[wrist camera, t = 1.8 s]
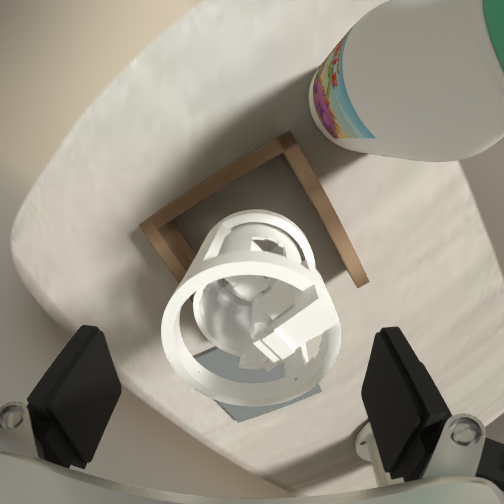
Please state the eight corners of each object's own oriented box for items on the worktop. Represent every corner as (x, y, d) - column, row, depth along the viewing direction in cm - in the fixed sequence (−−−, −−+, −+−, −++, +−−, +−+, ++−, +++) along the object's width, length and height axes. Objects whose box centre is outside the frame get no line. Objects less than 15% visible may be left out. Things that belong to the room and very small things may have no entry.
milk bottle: (413, 84, 20) (631, 47, 1) (382, 168, 23) (610, 261, 4) (326, 40, 19) (458, -137, 1) (291, 127, 22) (421, 65, 3)
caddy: (357, 264, 25) (369, 281, 22) (234, 327, 28) (230, 350, 24) (286, 132, 22) (289, 130, 19) (154, 213, 24) (138, 225, 21)
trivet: (320, 387, 30) (321, 391, 29) (238, 418, 32) (238, 422, 31) (274, 319, 27) (274, 322, 27) (184, 360, 29) (182, 363, 29)
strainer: (320, 244, 25) (380, 369, 11) (253, 295, 27) (241, 443, 12) (262, 174, 23) (260, 229, 9) (194, 233, 25) (117, 347, 11)
